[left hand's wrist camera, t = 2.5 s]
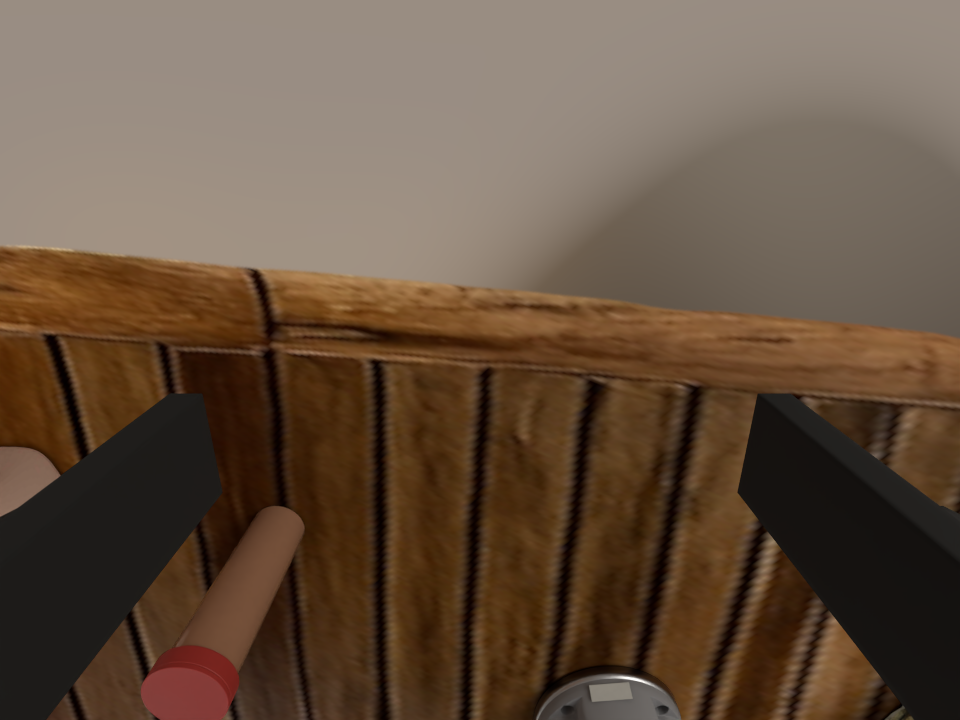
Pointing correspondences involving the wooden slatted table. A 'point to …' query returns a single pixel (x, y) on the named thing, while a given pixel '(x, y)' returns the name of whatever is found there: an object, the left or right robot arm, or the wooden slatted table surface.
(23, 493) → the anatomical model
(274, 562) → the jar
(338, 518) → the wooden slatted table surface
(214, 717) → the lid
